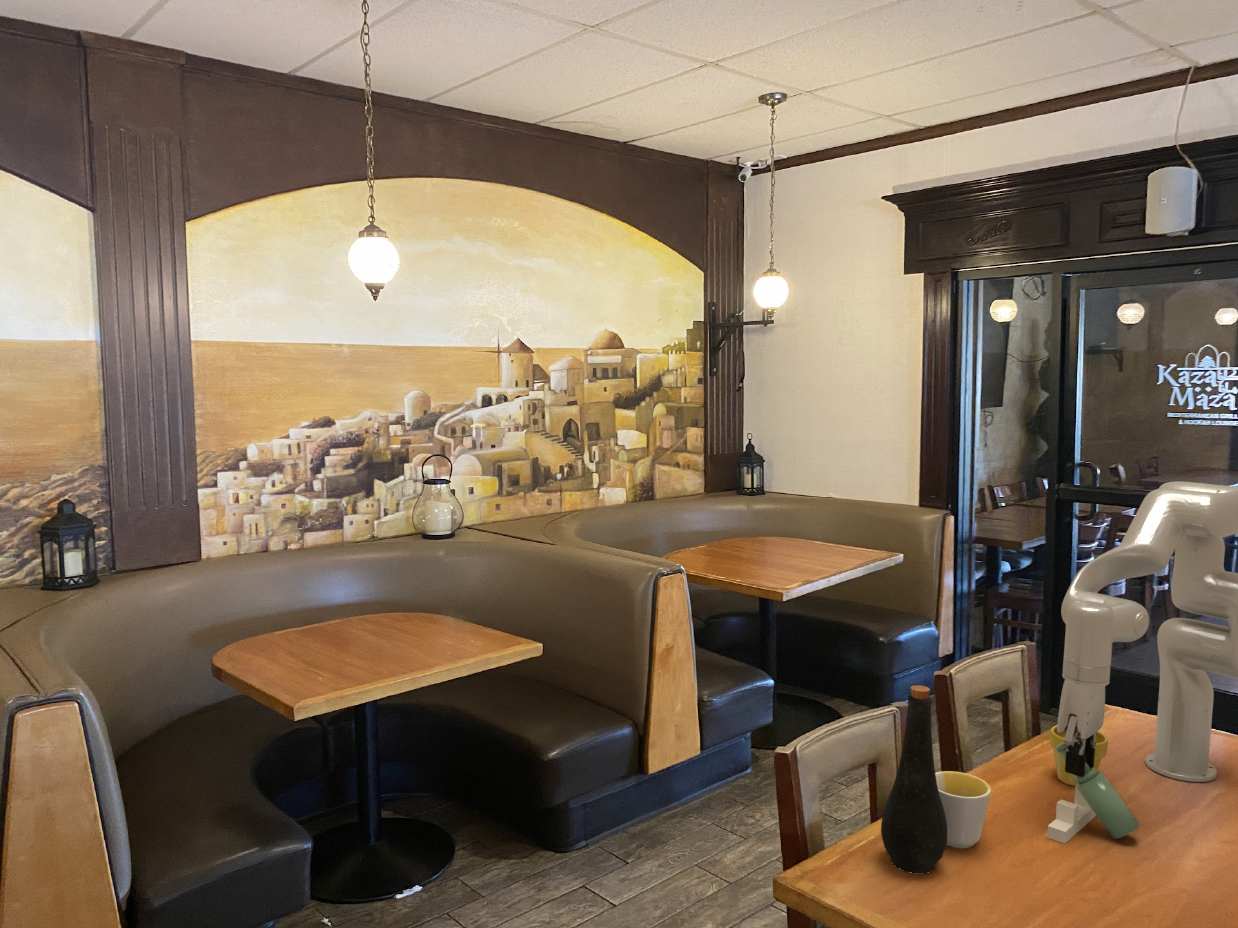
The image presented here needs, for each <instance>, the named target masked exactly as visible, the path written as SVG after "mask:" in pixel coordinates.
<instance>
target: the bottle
mask: <svg viewBox="0 0 1238 928" xmlns="http://www.w3.org/2000/svg"><path fill="white" fill-rule="evenodd" d="M930 691H931V689H930V688H929V687H928V686H926V685H918V684H917V685H912V686H910V694H908V696H907V710H906V721H905V731H904V736H903V742H902V747H901V748H902V749H901V755H900V760H899V764H898V767H897V771H896V776H895V780H894V782H893V785H892V788H891V790H890V792H889V794H888V796H887V799H886V801H885V805H884V807H883V808H884V809H883V812H882V817H881V824H880V825H881V826H880V832H881V839H882V843H883V847H884V849H885V851H886V853H887V854H888V856H889V858H890V863H891V862H892V863H893V864H892V863H891V864H892V865H893V866H894V865H895V866H896V867H897V868H896V867H895V866H894V867H895V868H896V869H898V868H900V869H901V870H900V869H899V870H900V871H902V870H904V871H903V872H905V871H906V872H905V873H908V872H912V873H911V874H913V873H918V874H917V875H922V874H921V873H926V874H929V873H931V871H932V870H933V869H934V868H935V867H936V865H937V864H938V862H939V861H940V860H941V859H942V858H943V856H944V853H945V850H946V847H947V845H946V844H947V821H946V816H945V811H944V807H943V804H942V801H941V798H940V795H939V791H938V787H937V781H936V775H935V773H936V769H935V759H934V750H933V737H932V736H933V735H932V703H933V698H932V697H931V696H929V695H930ZM934 870H935V869H934ZM934 870H933V871H934ZM933 871H932V872H933ZM928 872H929V873H928ZM919 873H920V874H919Z"/></svg>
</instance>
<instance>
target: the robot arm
mask: <svg viewBox="0 0 1238 928" xmlns="http://www.w3.org/2000/svg"><path fill="white" fill-rule="evenodd" d="M1235 534H1238V486H1232V485H1222V484H1210V483H1204V482H1196V481H1195V482H1192V481H1178V480H1177V481H1169V482H1164V483H1163V484H1161V485H1160V486H1159V488H1157V489H1154V490H1151V491H1149V493H1147V494H1146V495H1145V497H1144V498H1143V500H1142V502H1141V504H1140V505H1139V508H1138V510H1137V512H1136V514H1135V515H1134V517H1133V519H1132V520H1131V523H1130V525H1129V527H1128V529H1127V531H1126V532H1125V535H1124V537H1123V538H1122V540H1121V542H1120V544H1119V545H1118V546H1116V547H1114V548H1112V549H1110V550H1107V551H1106V552H1104V553H1102V554H1100V555H1098V556H1097V557H1095V558H1094V559H1092V560H1091V561H1089V562H1087V563H1086V564H1085V565H1083V567H1081V568H1080V569H1079V570H1078V572H1077V573H1076V574H1075V576H1074V577H1073V580H1072V582H1070V585H1069V586H1068V589H1067V591H1066V593H1065V596H1064V598H1063V601H1062V603H1061V608H1060V609H1061V611H1060V613H1061V618H1062V621H1063V622H1064V624H1065V634H1064V635H1065V637H1064V647H1063V648H1064V650H1063V664H1062V678H1063V679H1064V682H1063V686H1062V689H1061V694H1060V695H1061V696H1060V699H1059V700H1060V702H1059V708H1058V709H1059V710H1058V717H1057V724H1056V725H1057V731H1058V733H1060V734H1062V733H1064V732H1066V735H1065V739H1064V743H1065V744H1066V761H1065V771H1066V772H1067V773H1070V774H1073V775H1077V776H1080V777H1083V776H1084V775H1085V764H1086V763H1087V764H1088V765H1089V767H1090V768H1091V767H1094V757H1095V748H1092V747H1095V745H1096V735H1097V734H1096V733H1097V731H1100V730H1101V729H1102V727H1103V725H1104V719H1105V710H1106V709H1105V707H1106V704H1105V703H1106V686H1108V685H1109V684H1110V680H1111V665H1112V654H1113V653H1112V652H1113V643H1129V642H1130V643H1131V642H1135V641H1136V640H1139V639H1140V638H1142V637H1143V636H1144V635H1145V634H1146V632H1147V631H1148V629H1149V625H1150V616H1149V612H1148V611H1147V609H1146V608H1145V607H1144V606H1143V605H1142V604H1140V603H1138V602H1137V601H1134V600H1129V599H1128V598H1127V599H1126V598H1121V597H1116V596H1113V595H1108V594H1103V593H1099V592H1100V590H1102V589H1103V588H1105V587H1107V586H1108V585H1110V584H1113V583H1115V582H1119V581H1123V580H1127V579H1133V578H1139V577H1144V576H1145V577H1146V576H1149V575H1154V574H1157V573H1159V572H1162V571H1163V570H1165V569H1166V568H1167V566H1168V565H1169V562H1170V561H1171V558H1172V556H1173V555H1174V560H1173V570H1172V579H1171V589H1170V590H1171V593H1170V594H1171V595H1170V596H1171V601H1172V604H1173V605H1174V607H1176V608H1177V609H1179V610H1181V611H1183V612H1188V613H1192V614H1196V615H1200V616H1205V617H1210V618H1215V619H1220V620H1224V621H1227V623H1228V626H1225V625H1219V624H1215V623H1212V622H1207V621H1203V620H1197V619H1194V618H1193V619H1192V618H1188V617H1187V618H1186V617H1173V618H1169V619H1167V620H1165V621H1163V623H1161V625H1160V626H1159V628H1158V631H1157V637H1156V638H1157V639H1156V640H1157V651H1158V658H1159V687H1158V688H1159V690H1158V691H1159V692H1158V701H1157V716H1156V717H1157V718H1156V728H1155V729H1156V730H1155V732H1156V733H1155V746H1154V752H1151V753H1149V754H1147V755H1146V756H1145V765H1146V766H1147V767H1148V768H1149V769H1151V770H1152V771H1154V772H1155V773H1158V774H1160V775H1162V776H1165V777H1168V778H1171V779H1175V780H1179V781H1183V782H1190V783H1191V782H1192V783H1201V782H1202V783H1205V782H1210V781H1214V780H1215V779H1216V778H1217V772H1218V771H1217V769H1216V767H1215V766H1214V765H1213V764H1211V763H1209V757H1210V749H1211V733H1212V732H1211V731H1212V721H1213V720H1212V719H1213V708H1214V696H1215V695H1214V693H1215V692H1214V688H1213V683H1212V682H1211V680H1210V678H1209V676H1208V674H1207V672H1209V673H1214V674H1217V675H1222V676H1226V677H1230V678H1233V679H1234V678H1235V679H1238V573H1237V572H1233V571H1227V570H1226V569H1225V566H1224V563H1225V552H1226V545H1225V541H1224V539H1223V538H1226V537H1229V536H1233V535H1235ZM1076 733H1078V735H1076ZM1075 739H1076V740H1078V742H1076V741H1075ZM1079 743H1080V744H1079Z"/></svg>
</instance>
